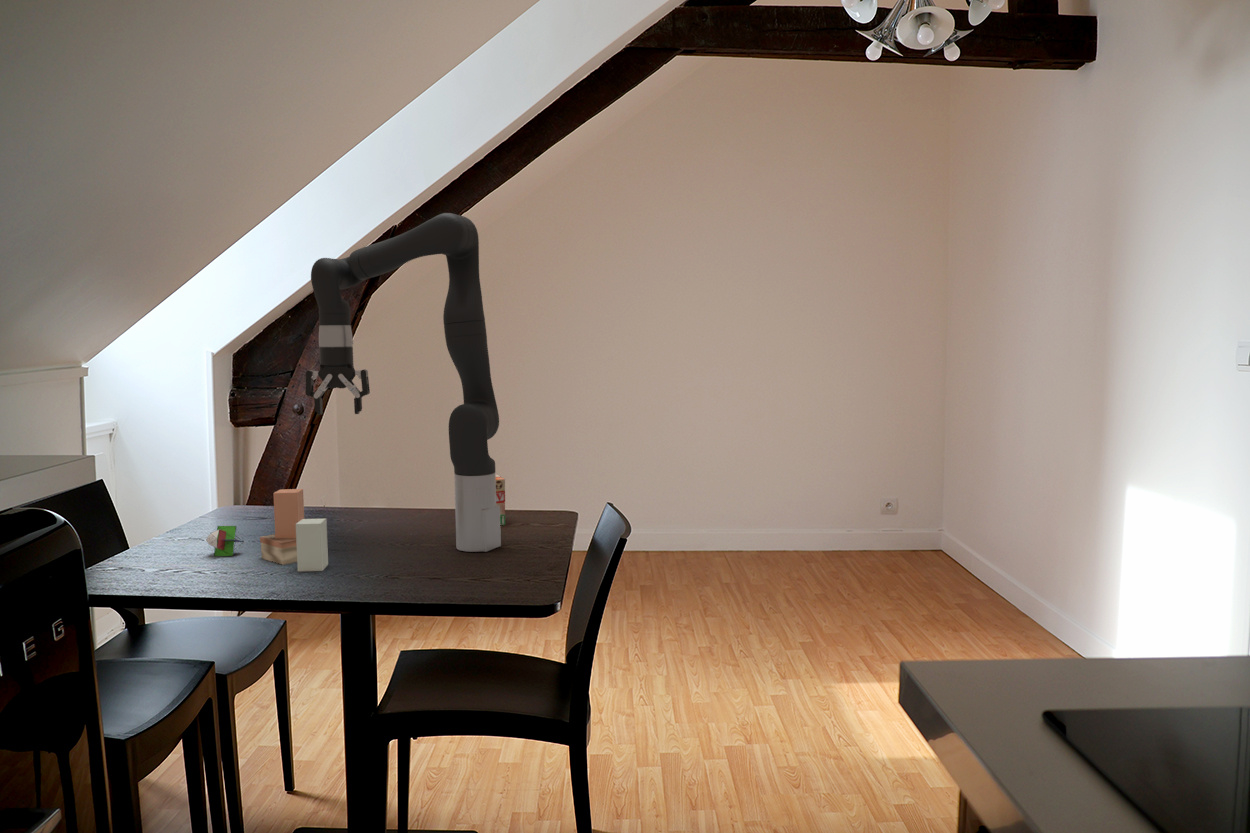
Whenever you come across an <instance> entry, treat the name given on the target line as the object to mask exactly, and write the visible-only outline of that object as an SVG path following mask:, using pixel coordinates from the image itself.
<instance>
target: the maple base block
mask: <svg viewBox="0 0 1250 833" xmlns="http://www.w3.org/2000/svg"><path fill="white" fill-rule="evenodd" d="M259 542H260V548H261V551H260V552H261V559H264V560H265V561H266V560H267V561H268V562H272V561H273V562H272V563H275V562H276V563H275V564H278V563H279V564H278V565H281V564H282V566H284V565H289V564H294V563H297V544H296V538H284V539H275V533H274V534H269V535H264V536H263V535H262V536H259Z"/></svg>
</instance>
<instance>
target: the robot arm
mask: <svg viewBox="0 0 1250 833" xmlns="http://www.w3.org/2000/svg"><path fill="white" fill-rule="evenodd" d="M479 240H480V239H479V233H478V229H477V227H476V225H475V224H474V222H473V221H472V220H471V219H470V218H468V217H466V216H463V215H459V214H455V213H451V212H442V213H440V214H438V215H436V216H434V217H432V218H430V219H428V220H426V221H425V222H423V223H421V224H419V225H417V226H416V227H414V228H412V229H409V230H408V231H405V232H403V233H401V234H399V235H396V236H394V237H390V238H388V239H384V240H382V241H379V242H376V243H373V244H370V245H366V246H363V247H361V248H358V249H355V250H354V251H352V252H351V253H350V255H349V256H347V257H343V258H339V259H337V258H332V257H331V258H330V257H322V258H318V259H316V261H315V262H314V263H313V265H312V267H311V271H310V281H311V286H312V290H313V293H314V294H313V295H314V297H315V301H316V303H317V306H318V320H319V321H318V323H319V327H318V329H319V330H318V352H319V353H318V354H319V370H313V369H309V370H306V372H305V396H306V397H311V398H312V399H313V402H314V406H313V407H314V411H315V413H317V415H318V416H319V415H323V414H324V412H323V410H324V409H323V398H322V396H323V395H324V393H325V392H326V391H327V390H328V389H330V390H331V389H336V388H337V389H348V390H349V392H350V393H351V394H352V395H353V396H354V398H353V401H354V402H353V405H354V406H353V407H354V415H360V412H362V411H363V397H365V396H367V395H369V394H370V393H371V392H370V390H371V389H370V383H369V382H370V381H369V371H368V370H367V369H361V370H356V369H355V367H354V348H353V347H354V340H353V332H352V325H351V324H352V321H351V320H352V319H351V307H350V306H351V305H350V304H349V303H348V301H347V300H345V299H343V297H342V294H341V290H345V289H349V288H352V287H354V286H357V285H359V284H361V283H363V282H364V281H366V280H367V279H372V278H376V277H379V276H381V275H384V274H387V273H390V272H392V271H394V270H396V269H398V268H400V267H402V266H404V265H405V264H407V263H409V262H410V261H413V260H416V259H418V258H422V257H427V256H433V255H436V256H437V255H444V256H445V257H446V258H445V259H446V261H447V269H448V278H449V279H448V290H447V294H446V298H445V303H444V307H443V329H444V330H443V331H444V338H445V343H446V344H445V345H446V349H447V351H448V353H449V357H450V358H451V361H452V363H453V365H454V366H455V369H456V371H457V373H458V376H459V378H460V383H461V388H462V397H463V404H459V405H457V407H455V408H453V410H452V411H451V413H450V417H449V420H448V442H449V456H450V461H451V464H452V465H453V469H454V470H453V472H454V506H455V507H454V509H455V512H454V514H455V539H456V540H455V544H456V549H457V550H458V551H463V552H470V553H471V552H472V553H473V552H475V553H477V552H478V553H479V552H485V553H486V552H489V551H492V550H494V549H496V548H497V549H498V548H499V547H502V542H501V541H502V540H501V539H502V537H501V536H502V535H501V526H500V506H499V505H496V475H497V473H496V461H495V460H494V459H493V458H492V457H491V456H490V454H489V448H488V447H489V445H488V440H490V439H492V438H493V437H494V436H495V435H496V434H497V432H498V430H499V426H500V415H499V410H498V404H497V400H496V397H495V396H496V395H495V393H494V386H493V383H492V376H491V366H490V365H491V364H490V356H489V347H488V336H487V335H488V334H487V326H486V319H485V318H486V317H485V312H484V304H483V294H482V287H481V280H480V248H479V247H480V242H479ZM356 376H357V377H358V380H360V381H361V391H360V390H359V388H358V386H357V384H355V382H354V381H353V379H355V377H356ZM317 377H319V379H320V380H321V381H322V382H321V383H320V385H319V387H318V388H317V390H316V391H314V386H315V385H314V384H315V382H314V381H315V380H317Z"/></svg>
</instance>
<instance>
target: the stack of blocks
mask: <svg viewBox="0 0 1250 833" xmlns="http://www.w3.org/2000/svg"><path fill="white" fill-rule="evenodd" d="M496 505H499V506H500V525H505V526H506V479H505V478H503V477H501V476H500V475H499V474H496Z"/></svg>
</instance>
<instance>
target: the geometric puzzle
mask: <svg viewBox="0 0 1250 833" xmlns="http://www.w3.org/2000/svg"><path fill="white" fill-rule="evenodd" d="M216 528H217V530H215V531H213V532H210V534H208V536H207V537H206V538H205V541H206V543H207V544H208V546H209V549H210V550H212V548H211V547H210V546H212V547H213V550H214V552H213V557H233V556H234V553H235V550H237V547H236V548H235V546H236V544H235V543H242V544H244V543H245V541H244V540H242V539H241V538H240V537H238V536H237V534H236V532H237V525H217V527H216ZM237 538H238V539H239V540H238V539H237ZM238 547H239V548H238V549H240V547H241V544H239V545H238Z"/></svg>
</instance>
